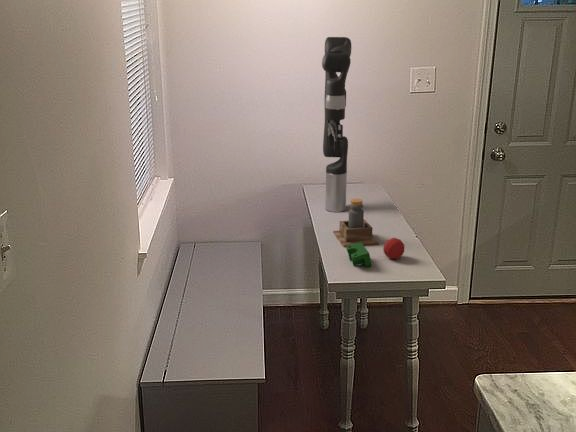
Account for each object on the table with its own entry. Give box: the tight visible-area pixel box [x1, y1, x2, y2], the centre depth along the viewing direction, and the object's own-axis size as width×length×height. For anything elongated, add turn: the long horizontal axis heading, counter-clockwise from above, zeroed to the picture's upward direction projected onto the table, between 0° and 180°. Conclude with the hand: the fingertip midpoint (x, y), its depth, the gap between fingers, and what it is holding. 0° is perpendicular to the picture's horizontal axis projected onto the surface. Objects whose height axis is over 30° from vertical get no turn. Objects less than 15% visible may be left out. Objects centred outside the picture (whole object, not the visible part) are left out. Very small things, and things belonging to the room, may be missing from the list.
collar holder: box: [332, 219, 380, 248], centre depth 264 cm, size 16×14×6 cm
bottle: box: [348, 198, 365, 228], centre depth 262 cm, size 6×6×15 cm
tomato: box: [382, 237, 405, 260], centre depth 244 cm, size 8×8×8 cm
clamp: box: [345, 242, 373, 268], centre depth 240 cm, size 12×6×9 cm, turn 3°
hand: (334, 148), depth 260 cm, fingers open, 8 cm apart
